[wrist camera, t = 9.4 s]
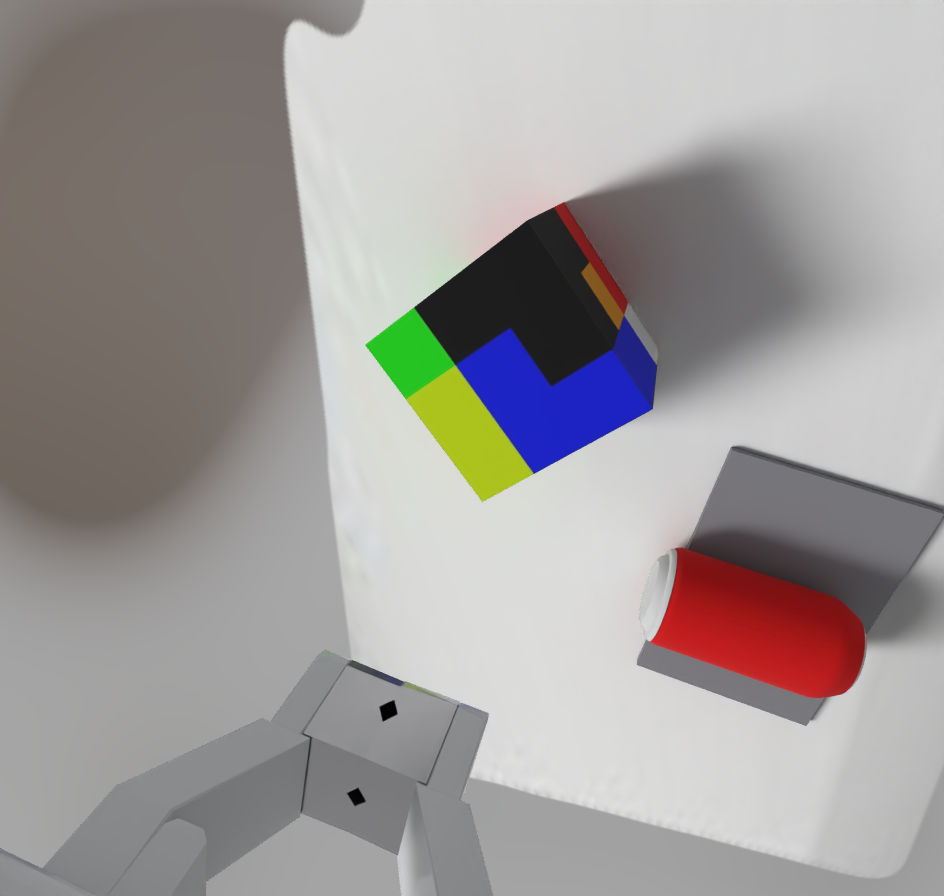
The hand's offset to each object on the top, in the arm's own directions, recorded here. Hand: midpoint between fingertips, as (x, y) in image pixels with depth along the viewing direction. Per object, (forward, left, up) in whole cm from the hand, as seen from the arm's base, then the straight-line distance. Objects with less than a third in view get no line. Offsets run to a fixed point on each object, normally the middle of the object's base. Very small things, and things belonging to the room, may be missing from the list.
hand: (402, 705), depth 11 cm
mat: (+15, +16, -31) cm, 38 cm away
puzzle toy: (+2, -3, -31) cm, 32 cm away
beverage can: (+15, +8, -28) cm, 32 cm away
